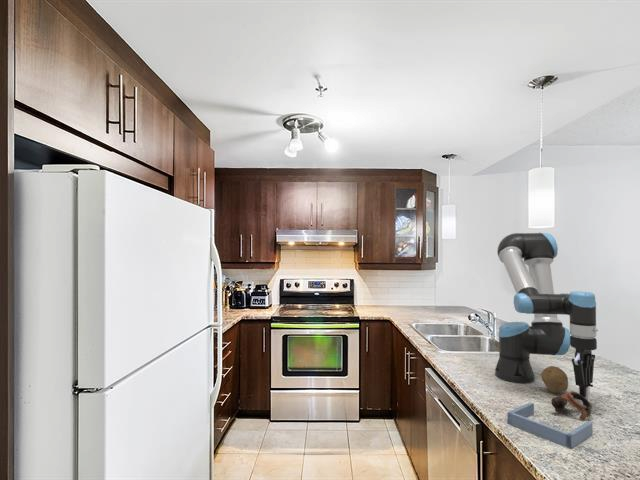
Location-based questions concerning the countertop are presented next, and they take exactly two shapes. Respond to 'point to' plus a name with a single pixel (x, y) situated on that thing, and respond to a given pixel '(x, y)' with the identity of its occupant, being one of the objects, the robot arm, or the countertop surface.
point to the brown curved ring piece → (572, 403)
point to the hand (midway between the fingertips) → (584, 405)
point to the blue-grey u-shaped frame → (548, 427)
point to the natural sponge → (555, 379)
